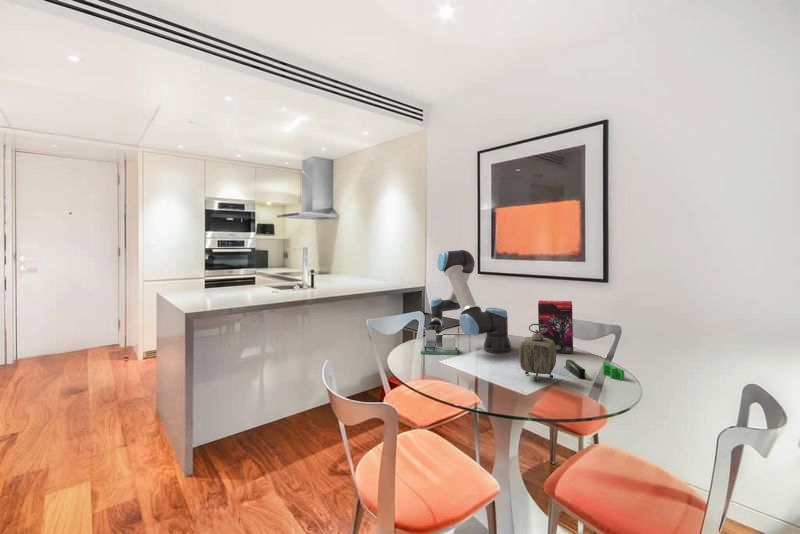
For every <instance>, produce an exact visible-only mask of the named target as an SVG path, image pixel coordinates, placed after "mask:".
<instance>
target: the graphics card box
mask: <svg viewBox="0 0 800 534" xmlns="http://www.w3.org/2000/svg"><path fill="white" fill-rule="evenodd" d="M537 304H538V305H537V311H538V313H537V314H538V315H537V317H538V320H537V322H538V324H541V325H543V326H544V327H545V331H544V328H543V327H542V326H539V325H538V332H542V331H544V332H543V333H538V334H541V335H542V336H543V338H547V339H551V340H553V341H554V343H555V346H556V354H557V353H559V354H574V329H573V327H574V326H573V325H574V324H573V301H572V300H538V302H537Z"/></svg>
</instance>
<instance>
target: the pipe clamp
mask: <svg viewBox="0 0 800 534" xmlns="http://www.w3.org/2000/svg"><path fill="white" fill-rule="evenodd" d="M602 369H603V370H602V371H603V372H602V374H603V376H610V377H609V378H610V379H611V380H612V379H618V380H620V381H625V370H624V369H622V368H620V367H618V366H616V365H613V364H611V363H609V362H606V361H604V362H603V365H602Z"/></svg>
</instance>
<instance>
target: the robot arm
mask: <svg viewBox="0 0 800 534" xmlns="http://www.w3.org/2000/svg"><path fill="white" fill-rule="evenodd" d="M475 264H476V262H475V258H474V256H473V255H472V253H470V252H469V251H467V250H465V249H459V250H450V251H449V250H445V251H441V252H440V253H439V254H438V256H437V270H439V271H440V272H443V273H444V276H446V277H448V279H449V282H450V284H451V286H452V289H451V293H450V296H449V299H442V298H441V297H433V298H431V299H430V313H431V314H430V315H431V317H430V318H431V319H430V320H431V321H430V322H429V325H424V328H423V330H424V331H425V330H436V335H437V334H438V335H439V334H441V333H442V332H443V331H445V326H444V325H443V324H444V317H443V312H450V311H458V310H461V312H460V316H459V319H458V322H459V327H460V329H461V331H462V332H463V333H464V334H465V335H468V336H476V335H481V334H486V336H485V339H484V342H483V351H486V352H488V353H491V354H505V353H506V354H507V353H509V352H511V351H512V344H511V341H510V338H509V329H508V327H509V326H508V321H509V320H508V318H509V317H508V311H507V310H506V309H504V308H498V307H486V308H485V311H483V310H482V309H481V307H480V306H479V305H477V304H476V301H475V300H474V297H473V295H472V291H471V288H470V287H469V283H468V281H469V278H470V276H471V274H472V273H473V272H474V269H475Z"/></svg>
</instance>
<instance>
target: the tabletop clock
mask: <svg viewBox="0 0 800 534" xmlns="http://www.w3.org/2000/svg"><path fill="white" fill-rule="evenodd" d="M532 326H538V327H539V326H542V327H543V328H544V331H545V327H544V326H543V325H541V324H539V323H532V324H530V325H529V326H528V330H529V331H530V332H531V333H532V335H531V336H528V337H524V339H523V340H522V341H521V342H520V344H519V350H518V357H519V366H520V368H521V370H523V371H524V374H525V375H526V374H528V375H529V373H531V374H535V377H534V380H535V381H536V380H537V382H538V381H539V375H549V378H550V379H553V378H554V375H553V374H552V372H553V370H554V369H555V367H556V362H557V352H556V346H555V343H554V341H553V340H551V339H547V338H543V336H542V335H541V334H539V333H543V332H544V331H542V332H539V329H536V330H533V329H531V327H532Z"/></svg>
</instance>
